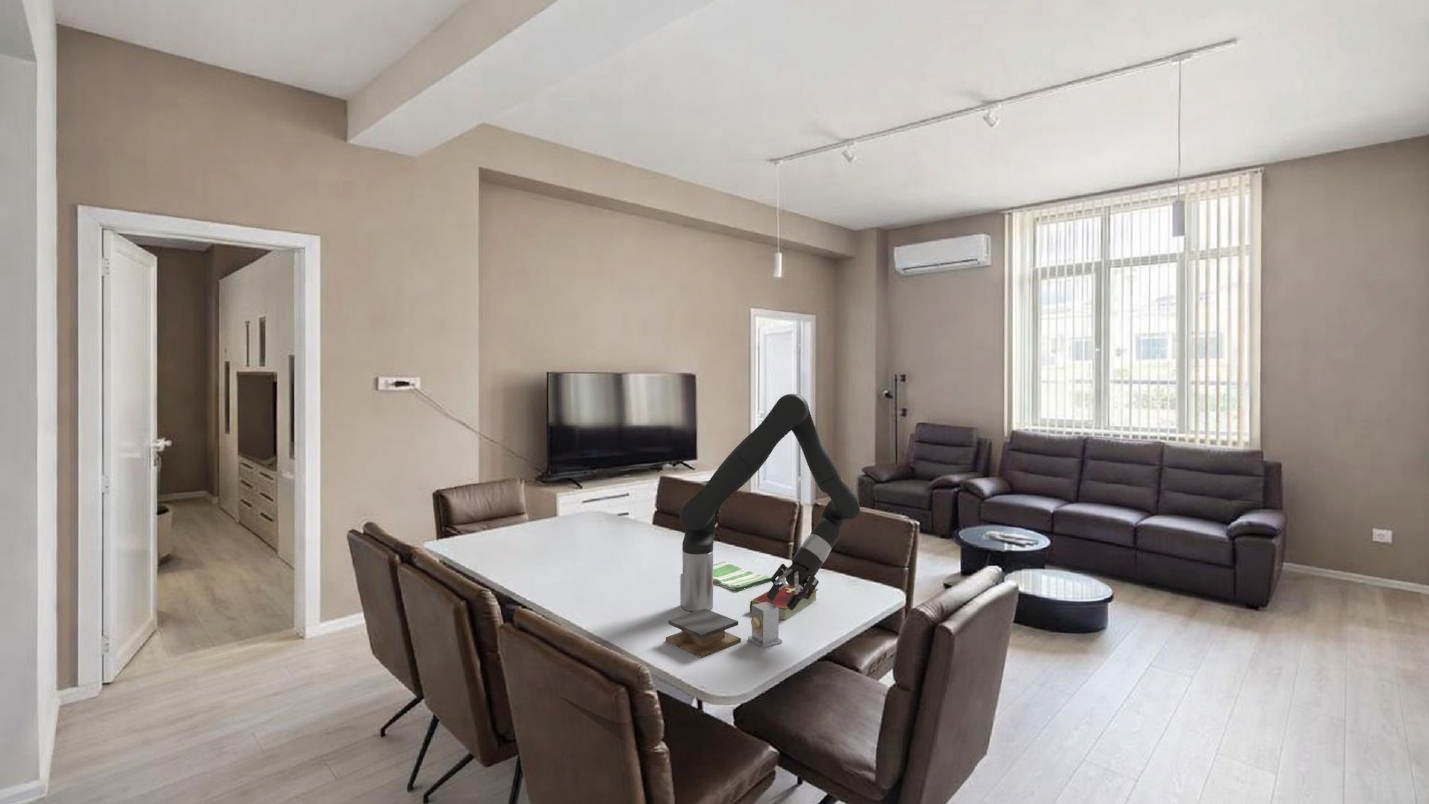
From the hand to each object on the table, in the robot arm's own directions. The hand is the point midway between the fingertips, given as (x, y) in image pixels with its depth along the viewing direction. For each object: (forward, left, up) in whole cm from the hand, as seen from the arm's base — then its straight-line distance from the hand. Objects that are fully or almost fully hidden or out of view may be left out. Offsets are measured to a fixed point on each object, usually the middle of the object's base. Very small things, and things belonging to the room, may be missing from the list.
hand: (778, 603), depth 176 cm
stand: (-12, -16, -9) cm, 22 cm away
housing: (-1, -4, -9) cm, 10 cm away
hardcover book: (-15, +20, -10) cm, 26 cm away
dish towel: (-45, +27, -10) cm, 53 cm away
